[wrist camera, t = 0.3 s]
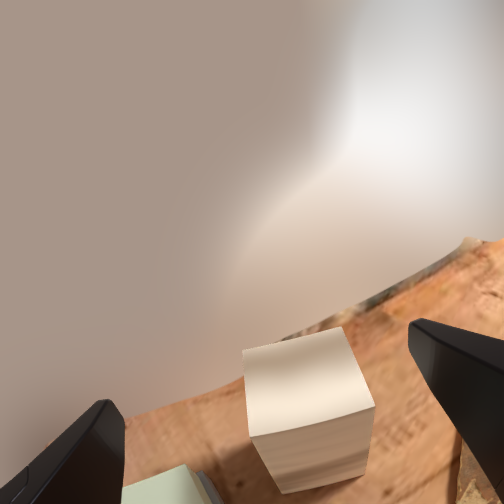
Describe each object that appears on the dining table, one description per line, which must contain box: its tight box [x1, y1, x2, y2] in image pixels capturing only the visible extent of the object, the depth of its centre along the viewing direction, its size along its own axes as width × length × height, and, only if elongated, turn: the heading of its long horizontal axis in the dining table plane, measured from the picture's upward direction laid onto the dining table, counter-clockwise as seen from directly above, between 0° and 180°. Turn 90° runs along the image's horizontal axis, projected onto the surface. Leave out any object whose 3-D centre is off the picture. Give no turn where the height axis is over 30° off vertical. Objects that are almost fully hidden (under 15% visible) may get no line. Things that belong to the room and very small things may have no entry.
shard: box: [455, 438, 502, 504], centre depth 14 cm, size 11×8×2 cm
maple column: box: [242, 327, 375, 494], centre depth 18 cm, size 6×6×10 cm
